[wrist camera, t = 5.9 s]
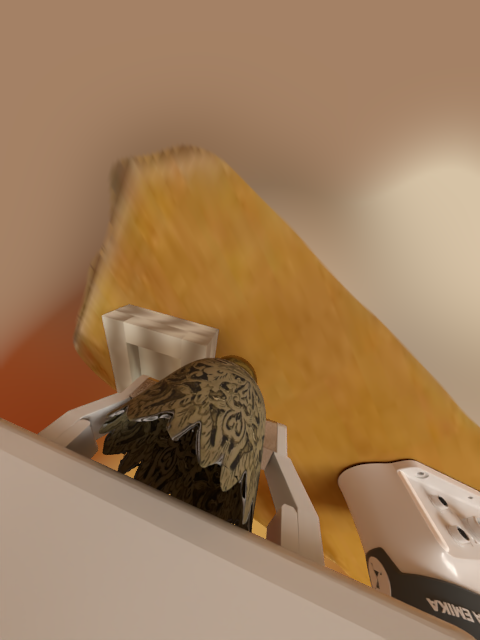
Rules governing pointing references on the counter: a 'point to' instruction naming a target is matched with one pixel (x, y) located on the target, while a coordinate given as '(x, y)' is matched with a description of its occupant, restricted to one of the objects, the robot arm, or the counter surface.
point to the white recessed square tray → (153, 343)
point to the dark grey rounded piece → (196, 437)
